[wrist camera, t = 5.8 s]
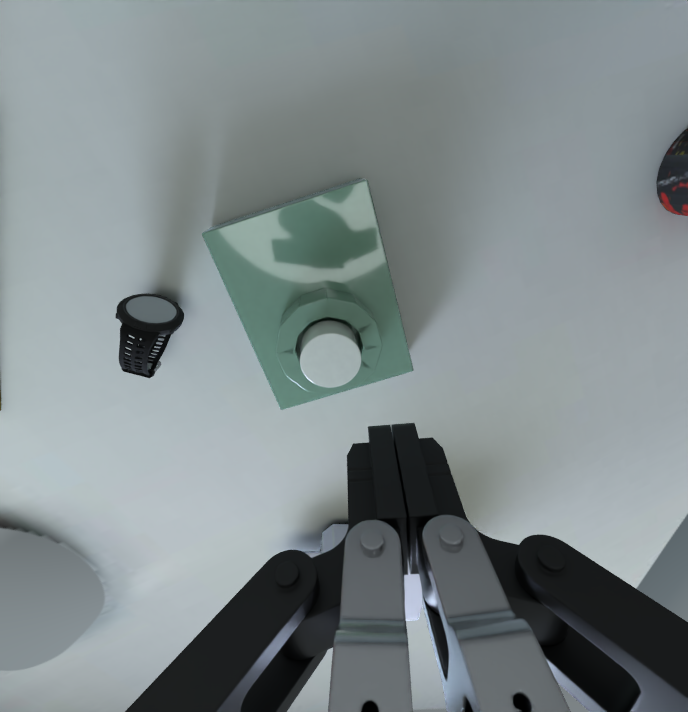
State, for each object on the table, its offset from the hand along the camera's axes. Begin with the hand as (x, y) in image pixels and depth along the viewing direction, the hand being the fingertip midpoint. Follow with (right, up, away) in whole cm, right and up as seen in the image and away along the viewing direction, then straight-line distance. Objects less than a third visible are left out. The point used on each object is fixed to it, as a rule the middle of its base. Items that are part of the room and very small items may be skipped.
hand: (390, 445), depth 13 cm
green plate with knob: (-3, +7, +15) cm, 17 cm away
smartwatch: (-14, +6, +14) cm, 21 cm away
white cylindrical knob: (-2, +4, +12) cm, 13 cm away
